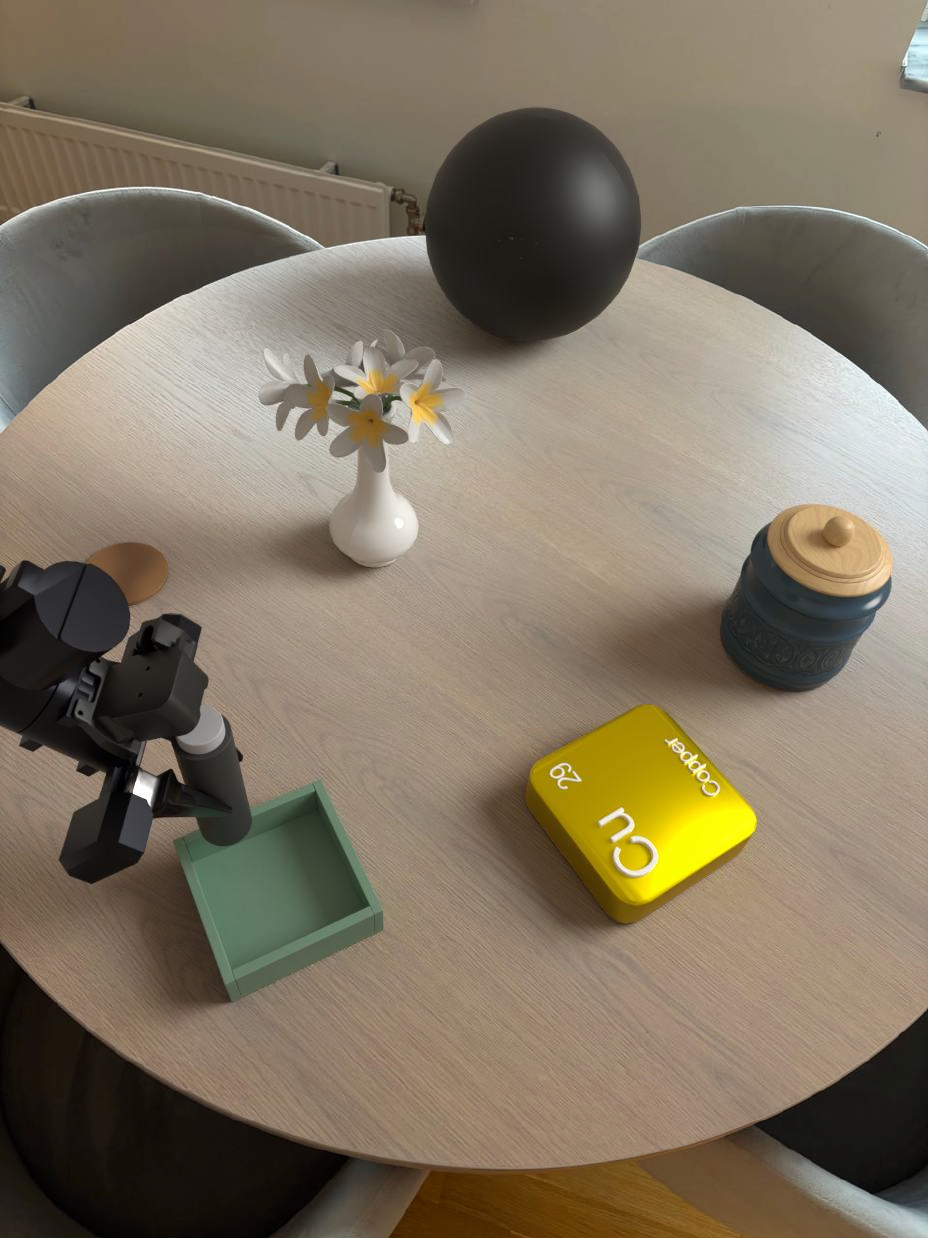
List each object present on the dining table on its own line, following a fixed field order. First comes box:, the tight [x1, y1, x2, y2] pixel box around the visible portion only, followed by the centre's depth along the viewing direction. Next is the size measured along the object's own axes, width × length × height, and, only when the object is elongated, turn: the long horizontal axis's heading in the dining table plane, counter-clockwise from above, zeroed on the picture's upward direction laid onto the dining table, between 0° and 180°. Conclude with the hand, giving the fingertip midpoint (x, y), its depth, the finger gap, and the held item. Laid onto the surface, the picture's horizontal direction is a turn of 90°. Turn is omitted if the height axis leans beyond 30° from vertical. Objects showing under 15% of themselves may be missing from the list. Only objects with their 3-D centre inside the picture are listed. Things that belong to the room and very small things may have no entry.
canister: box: [719, 503, 894, 692], centre depth 90 cm, size 13×13×18 cm
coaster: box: [85, 541, 169, 607], centre depth 97 cm, size 8×8×1 cm
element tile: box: [524, 703, 758, 925], centre depth 82 cm, size 15×15×5 cm
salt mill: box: [170, 704, 252, 846], centre depth 68 cm, size 4×4×14 cm
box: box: [172, 779, 384, 1003], centre depth 76 cm, size 13×13×4 cm
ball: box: [424, 106, 642, 342], centre depth 119 cm, size 27×27×27 cm
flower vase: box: [257, 328, 467, 569], centre depth 92 cm, size 13×18×25 cm
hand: (234, 786), depth 69 cm, fingers closed on salt mill, 4 cm apart
